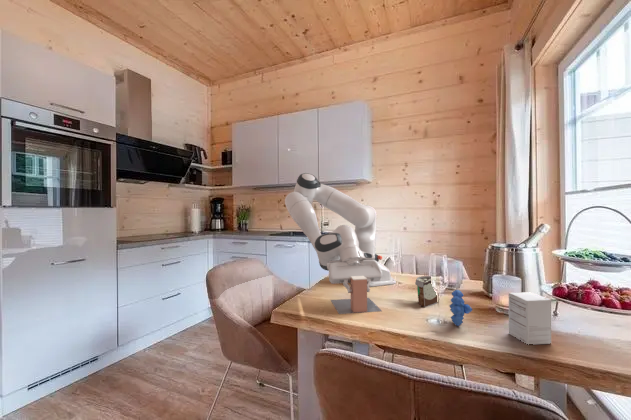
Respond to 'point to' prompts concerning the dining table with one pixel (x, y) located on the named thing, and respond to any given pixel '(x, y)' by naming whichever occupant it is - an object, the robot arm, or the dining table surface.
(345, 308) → the slate board
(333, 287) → the dining table surface
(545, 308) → the white drawer cabinet
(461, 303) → the grapes
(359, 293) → the block
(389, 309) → the dining table surface
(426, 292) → the food container
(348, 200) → the robot arm
